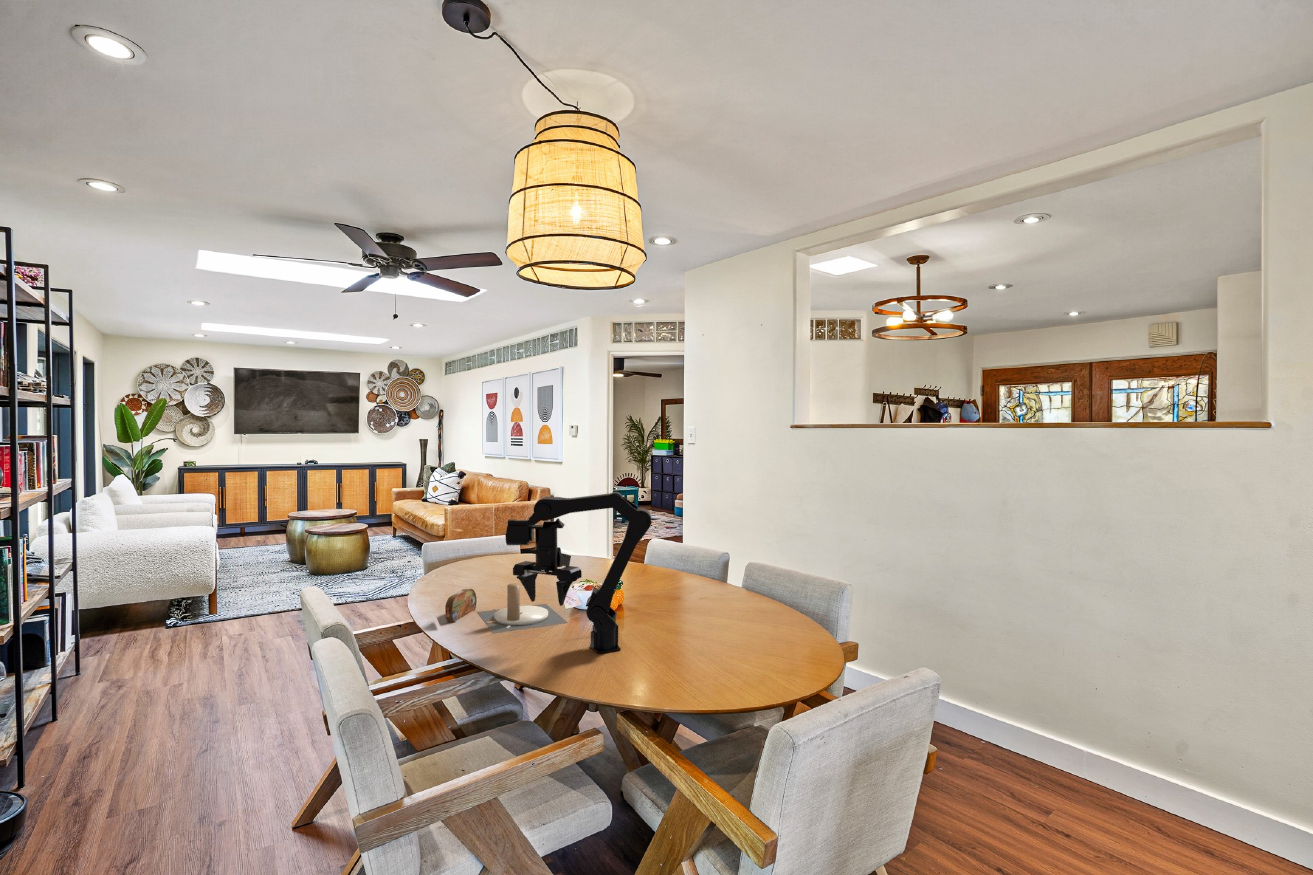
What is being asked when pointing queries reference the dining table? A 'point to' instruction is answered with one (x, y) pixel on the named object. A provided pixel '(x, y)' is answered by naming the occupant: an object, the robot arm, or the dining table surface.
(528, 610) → the dial
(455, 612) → the tin
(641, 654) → the dining table surface
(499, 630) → the dial plate
